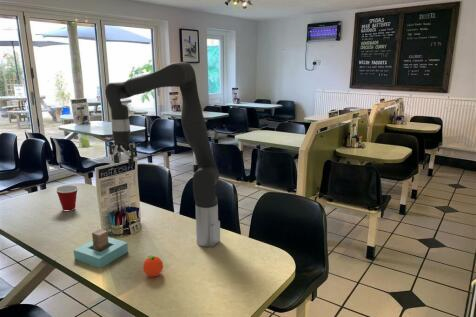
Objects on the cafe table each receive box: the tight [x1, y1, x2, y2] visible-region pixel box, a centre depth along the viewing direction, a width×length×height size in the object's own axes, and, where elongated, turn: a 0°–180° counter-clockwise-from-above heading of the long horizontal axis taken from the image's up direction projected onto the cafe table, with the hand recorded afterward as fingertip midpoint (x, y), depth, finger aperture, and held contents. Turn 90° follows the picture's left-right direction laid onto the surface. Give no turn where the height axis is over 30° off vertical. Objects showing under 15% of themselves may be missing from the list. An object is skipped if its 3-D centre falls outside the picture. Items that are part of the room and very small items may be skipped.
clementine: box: [142, 254, 164, 278], centre depth 126 cm, size 8×7×7 cm
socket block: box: [73, 236, 129, 269], centre depth 139 cm, size 14×14×4 cm
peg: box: [91, 228, 109, 252], centre depth 139 cm, size 4×4×10 cm
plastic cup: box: [55, 184, 79, 211], centre depth 184 cm, size 11×11×12 cm
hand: (124, 165), depth 157 cm, fingers open, 8 cm apart
